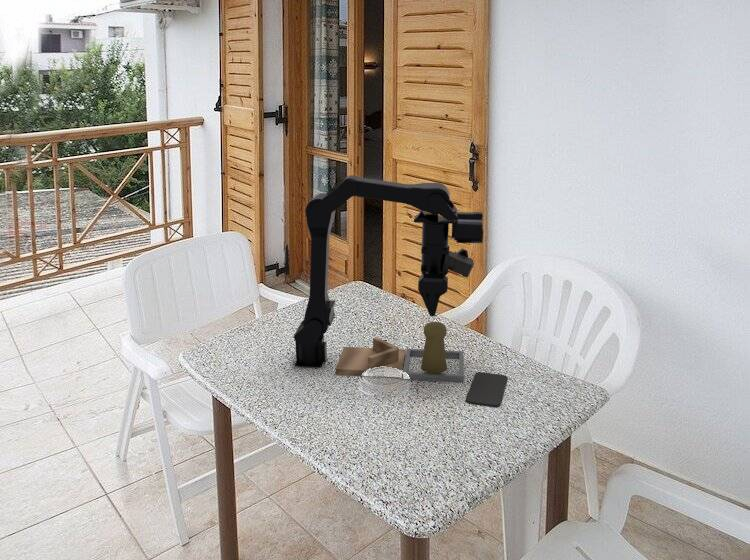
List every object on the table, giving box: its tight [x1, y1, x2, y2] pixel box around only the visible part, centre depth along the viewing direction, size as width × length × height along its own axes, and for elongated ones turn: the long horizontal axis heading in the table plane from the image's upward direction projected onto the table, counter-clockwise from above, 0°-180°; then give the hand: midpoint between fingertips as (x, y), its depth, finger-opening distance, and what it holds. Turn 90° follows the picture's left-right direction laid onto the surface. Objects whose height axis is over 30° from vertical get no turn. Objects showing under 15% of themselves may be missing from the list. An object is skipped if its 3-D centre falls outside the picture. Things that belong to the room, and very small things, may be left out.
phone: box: [465, 371, 508, 408], centre depth 156 cm, size 7×1×15 cm
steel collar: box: [403, 348, 465, 383], centre depth 166 cm, size 14×14×2 cm
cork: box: [420, 321, 448, 373], centre depth 165 cm, size 6×6×11 cm
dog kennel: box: [335, 336, 407, 377], centre depth 167 cm, size 15×12×4 cm
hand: (433, 308), depth 162 cm, fingers open, 9 cm apart
